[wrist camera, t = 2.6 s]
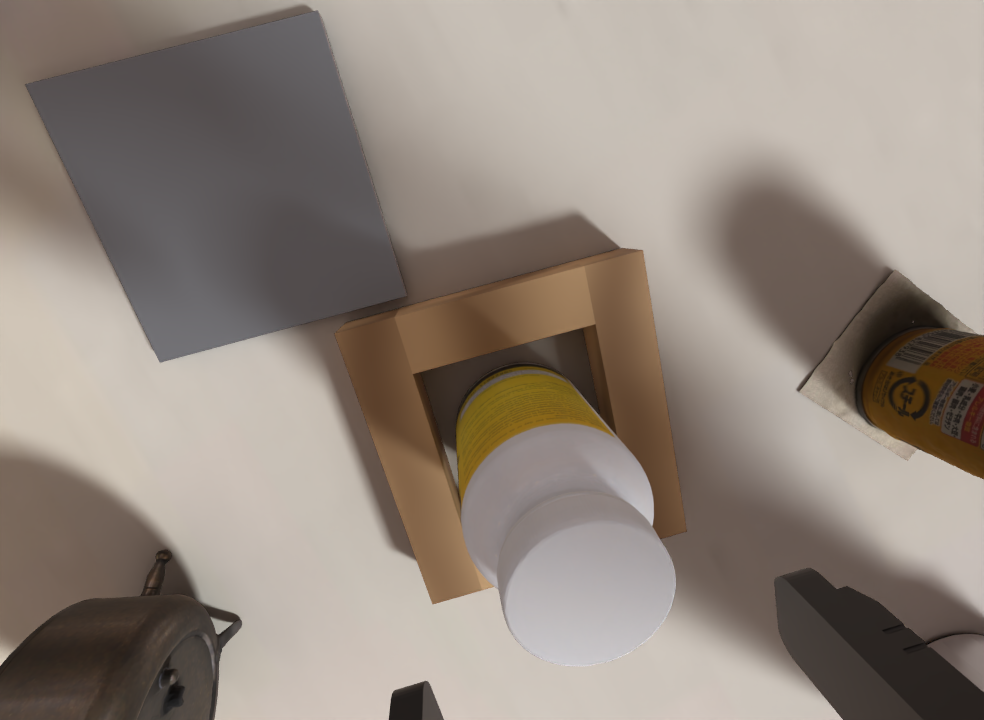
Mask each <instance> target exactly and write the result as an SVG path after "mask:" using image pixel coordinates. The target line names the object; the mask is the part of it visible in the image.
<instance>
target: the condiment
mask: <svg viewBox="0 0 984 720" xmlns="http://www.w3.org/2000/svg"><path fill="white" fill-rule="evenodd" d="M913 320H914V323H912V321H913ZM850 371H852V377H850V376H849V372H850ZM851 379H854V381H853V383H852V384H851V383H850V382H851ZM800 393H801V394H803V395H804V396H806V397H808V398H809V399H811V400H812V401H814V402H816V403H817V404H819V405H820V406H822V407H823V408H825V409H827V410H828V411H830V412H832V413H833V414H835V415H836V416H838V417H839V418H841V419H842V420H844V421H845V422H847V423H849V424H850V425H852V426H853V427H855V428H856V429H858V430H859V431H861V432H862V433H864V434H866V435H867V436H869V437H870V438H872V439H873V440H875V441H877V442H878V443H880V444H881V445H883V446H884V447H886V448H888V449H889V450H891V451H892V452H894V453H895V454H897V455H899V456H900V457H902V458H904V459H905V460H907V461H908V460H909V459H910V457H911V456H912V454H914V453H915V451H916V450H917V449H919V450H922V451H924V452H926V453H928V454H931V455H933V456H935V457H937V458H939V459H941V460H943V461H945V462H947V463H949V464H951V465H954V466H956V467H958V468H960V469H962V470H964V471H965V472H968V473H970V474H972V475H974V476H977V477H980V478H982V479H984V335H978V334H977V333H975V332H974V331H973V330H972V329H970V328H969V327H967V326H966V325H965V324H963V323H962V322H961V321H960V320H959V319H957V318H956V317H954V316H953V315H952V314H951V313H950V312H949V311H948V310H946V309H945V308H944V307H943V306H942V305H941V304H940V303H938V302H936V301H935V300H933V299H932V298H931V297H930V296H929V295H927V294H926V293H924V292H923V291H922V290H920V289H919V288H918V287H916V286H915V285H914V284H913V283H912V282H911V281H910V280H909V279H908V278H906V277H905V276H903V275H902V274H901V273H899V272H898V271H897V270H894V271H893V273H892V274H891V275H890V276H889V277H888V279H887V280H886V281H885V283H884V284H882V285H881V286H880V287H879V288H878V289H877V291H876V292H875V293H874V295H873V296H872V297H871V298H870V299H869V301H868V302H867V303H866V304H865V306H864V307H863V309H862V310H861V311H860V312H859V313H858V314H857V315H856V317H855V318H854V319H853V320H852V322H851V323H850V324H849V326H848V327H847V328H846V330H845V331H844V332H843V334H842V335H841V336H840V338H839V339H838V340H836V341H835V342H834V343H833V347H832V348H831V350H830V352H829V353H828V354H827V356H826V357H825V358H824V360H823V361H822V362H821V363H820V364H819V365H818V367H817V368H816V369H815V370H814V372H813V374H812V376H811V377H810V378H809V380H808V381H807V383H806V384H805V385H804V386H803V388H802V389H801V390H800Z"/></svg>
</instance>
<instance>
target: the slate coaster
mask: <svg viewBox="0 0 984 720" xmlns="http://www.w3.org/2000/svg"><path fill="white" fill-rule="evenodd" d="M25 85H26V87H27V90H28V92H29V94H30V96H31V98H32V100H33V102H34V104H35V106H36V108H37V110H38V112H39V114H40V116H41V118H42V120H43V123H44V125H45V127H46V129H47V131H48V133H49V135H50V137H51V139H52V141H53V143H54V145H55V147H56V149H57V151H58V154H59V156H60V158H61V160H62V162H63V164H64V166H65V168H66V170H67V172H68V174H69V176H70V178H71V180H72V182H73V184H74V187H75V189H76V191H77V193H78V195H79V197H80V199H81V201H82V203H83V205H84V207H85V209H86V211H87V213H88V215H89V217H90V220H91V222H92V224H93V226H94V228H95V230H96V232H97V234H98V236H99V238H100V240H101V242H102V244H103V246H104V248H105V250H106V253H107V255H108V257H109V259H110V261H111V263H112V265H113V267H114V269H115V271H116V273H117V275H118V277H119V279H120V281H121V283H122V286H123V288H124V290H125V292H126V294H127V296H128V298H129V300H130V302H131V304H132V306H133V308H134V310H135V312H136V314H137V317H138V319H139V321H140V323H141V325H142V327H143V329H144V331H145V333H146V335H147V337H148V339H149V341H150V343H151V345H152V347H153V350H154V352H155V354H156V356H157V358H158V360H159V362H164V361H168V360H171V359H175V358H179V357H183V356H186V355H190V354H194V353H197V352H201V351H205V350H209V349H212V348H216V347H220V346H223V345H227V344H231V343H235V342H238V341H242V340H246V339H249V338H253V337H257V336H260V335H264V334H268V333H272V332H275V331H279V330H283V329H286V328H290V327H294V326H298V325H301V324H305V323H309V322H312V321H316V320H320V319H324V318H327V317H331V316H335V315H338V314H342V313H346V312H350V311H353V310H357V309H361V308H364V307H368V306H372V305H375V304H379V303H383V302H387V301H390V300H394V299H398V298H401V297H405V296H407V292H406V289H405V285H404V282H403V279H402V276H401V272H400V269H399V266H398V263H397V260H396V256H395V253H394V250H393V247H392V243H391V240H390V237H389V234H388V230H387V227H386V224H385V221H384V217H383V214H382V211H381V208H380V204H379V201H378V198H377V195H376V191H375V188H374V185H373V182H372V179H371V175H370V172H369V169H368V166H367V162H366V159H365V156H364V153H363V149H362V146H361V143H360V140H359V136H358V133H357V130H356V127H355V123H354V120H353V117H352V114H351V110H350V107H349V104H348V101H347V98H346V94H345V91H344V88H343V85H342V81H341V78H340V75H339V72H338V68H337V65H336V62H335V59H334V55H333V52H332V49H331V46H330V42H329V39H328V36H327V33H326V30H325V26H324V23H323V20H322V17H321V15H320V14H319V12H318V10H317V11H313V12H310V13H306V14H302V15H298V16H294V17H290V18H286V19H282V20H278V21H274V22H270V23H266V24H262V25H258V26H254V27H250V28H246V29H242V30H238V31H234V32H230V33H226V34H222V35H218V36H214V37H210V38H207V39H203V40H199V41H195V42H191V43H187V44H183V45H179V46H175V47H171V48H167V49H163V50H159V51H155V52H151V53H147V54H143V55H139V56H135V57H131V58H127V59H123V60H119V61H115V62H111V63H107V64H104V65H100V66H96V67H92V68H88V69H84V70H80V71H76V72H72V73H68V74H64V75H60V76H56V77H52V78H48V79H44V80H40V81H36V82H32V83H28V84H25Z"/></svg>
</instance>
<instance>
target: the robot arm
mask: <svg viewBox="0 0 984 720" xmlns="http://www.w3.org/2000/svg"><path fill="white" fill-rule="evenodd" d="M774 584H775V596H776V607H777V618H778V628H779V632H780V635H781V638H782V640H783V642H784V645H785V646H786V648H787V650H788V652H789V653H790V655H791V656H792V658H793V659H794V660H795V662H796V663H797V664H798V665H799V667H800V668H801V669H802V670H803V671H804V673H805V674H806V675H807V676H808V678H809V679H810V680H811V681H812V682H813V684H814V685H815V686H816V687H817V688H818V690H819V691H820V692H821V693H822V695H823V696H824V697H825V698H826V699H827V701H828V702H829V703H830V704H831V706H832V707H833V708H834V709H835V710H836V712H837V713H838V714H839V715H840V717H841V718H842V719H843V720H984V636H982V635H978V634H960V635H952V636H949V637H946V638H942V639H939V640H937V641H935V642H932V643H930V644H928V645H926V644H925V642H924V641H923V640H922V639H921V638H920V637H918V636H917V635H916V634H915V633H914V632H913V631H911V630H910V629H909V628H906V627H905V626H904V624H903V623H902V622H901V621H900V620H899V619H897V618H896V617H895V616H894V615H893V614H892V613H890V612H889V611H888V610H887V609H886V608H884V607H883V606H882V605H881V604H880V603H879V602H877V601H875V600H873V599H871V598H869V597H867V596H866V595H864V594H862V593H860V592H858V591H856V590H854V589H852V588H850V587H848V586H846V587H843V588H839V589H836V588H835V587H834V586H832V585H831V584H830V583H829V582H828V581H827V580H826V579H825V578H824V577H823V576H821V575H820V574H819V573H818V572H817V571H815V570H813V569H811V568H806V569H803V570H799V571H796V572H793V573H789V574H786V575H783V576H779V577H777V578H776V579H775V582H774ZM389 720H444V719H443V716H442V714H441V711H440V709H439V706H438V704H437V701H436V699H435V696H434V694H433V691H432V689H431V686H430V684H429V682H428V681H424V682H421V683H417V684H414V685H411V686H407V687H404V688H401V689H397V690H395V691H394V692H393V693H392V697H391V704H390V714H389Z"/></svg>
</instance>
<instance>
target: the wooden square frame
mask: <svg viewBox="0 0 984 720" xmlns="http://www.w3.org/2000/svg"><path fill="white" fill-rule="evenodd" d="M579 328H583V333H584V338H585V342H586V347H587V352H588V357H589V362H590V367H591V372H592V377H593V382H594V387H595V392H596V397H597V402H598V407H599V411H600V416H601V418H602V419H603V420H604V422H605V423H606V424H607V425H608V426H609V427H610V429H611V430H612V431H613V432H614V433H615V435H616V436H617V437H618V438H619V439H620V440H621V441H622V443H623V444H624V445H625V446H626V447H627V448H628V449H629V451H630V452H631V453H632V454H633V455H634V456H635V458H636V459H637V460H638V462H639V463H640V465H641V466H642V468H643V470H644V472H645V474H646V476H647V478H648V481H649V483H650V486H651V490H652V495H653V502H654V519H653V525H652V527H653V528H654V530H655V532H656V533H657V535H658V537H659V538H660V539H662V538H666V537H669V536H673V535H676V534H680V533H683V532H686V531H687V529H686V523H685V516H684V510H683V504H682V497H681V491H680V484H679V478H678V472H677V465H676V459H675V452H674V446H673V440H672V433H671V427H670V421H669V414H668V408H667V401H666V395H665V389H664V382H663V376H662V369H661V363H660V357H659V350H658V344H657V338H656V331H655V325H654V318H653V312H652V306H651V299H650V293H649V286H648V280H647V274H646V267H645V261H644V254H643V250H636V249H626V248H620V249H616V250H613V251H609V252H605V253H601V254H598V255H594V256H590V257H587V258H583V259H579V260H576V261H572V262H568V263H564V264H561V265H557V266H553V267H550V268H546V269H542V270H539V271H535V272H531V273H527V274H524V275H520V276H516V277H513V278H509V279H505V280H502V281H498V282H494V283H490V284H487V285H483V286H479V287H476V288H472V289H468V290H465V291H461V292H457V293H453V294H450V295H446V296H442V297H439V298H435V299H431V300H427V301H424V302H420V303H416V304H413V305H409V306H405V307H402V308H398V309H394V310H390V311H387V312H383V313H379V314H376V315H372V316H368V317H365V318H361V319H357V320H353V321H350V322H346V323H345V324H344V325H343V326H342V327H341V328H340V329H339V330H338V331H337V332H336V333H334V334H335V337H336V340H337V343H338V345H339V348H340V351H341V354H342V356H343V359H344V362H345V365H346V367H347V370H348V373H349V376H350V378H351V381H352V384H353V387H354V389H355V392H356V395H357V398H358V400H359V403H360V406H361V409H362V411H363V414H364V417H365V420H366V422H367V425H368V428H369V431H370V433H371V436H372V439H373V442H374V444H375V447H376V450H377V453H378V455H379V458H380V461H381V464H382V466H383V469H384V472H385V475H386V477H387V480H388V483H389V486H390V488H391V491H392V494H393V497H394V499H395V502H396V505H397V508H398V510H399V513H400V516H401V519H402V521H403V524H404V527H405V530H406V532H407V535H408V538H409V541H410V543H411V546H412V549H413V552H414V554H415V557H416V560H417V563H418V565H419V568H420V571H421V574H422V576H423V579H424V582H425V585H426V587H427V590H428V593H429V596H430V598H431V601H432V604H436V603H439V602H443V601H446V600H450V599H453V598H457V597H460V596H464V595H467V594H471V593H474V592H478V591H481V590H484V589H488V588H491V587H494V586H493V585H492V584H491V583H490V582H488V581H487V580H486V578H485V577H484V576H483V575H482V574H481V573H480V571H479V570H478V569H477V567H476V566H475V564H474V563H473V561H472V559H471V557H470V555H469V553H468V550H467V547H466V544H465V541H464V537H463V531H462V524H461V510H460V497H459V493H458V490H457V487H456V484H455V481H454V478H453V474H452V471H451V468H450V465H449V462H448V459H447V455H446V452H445V449H444V446H443V443H442V440H441V436H440V433H439V430H438V427H437V424H436V421H435V417H434V414H433V411H432V408H431V405H430V402H429V399H428V395H427V392H426V389H425V386H424V383H423V380H422V376H421V373H420V372H423V371H426V370H430V369H433V368H437V367H441V366H444V365H448V364H452V363H455V362H459V361H463V360H466V359H470V358H474V357H477V356H481V355H485V354H488V353H492V352H496V351H499V350H503V349H506V348H510V347H514V346H517V345H521V344H525V343H528V342H532V341H536V340H539V339H543V338H547V337H550V336H554V335H558V334H561V333H565V332H569V331H572V330H576V329H579Z"/></svg>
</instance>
